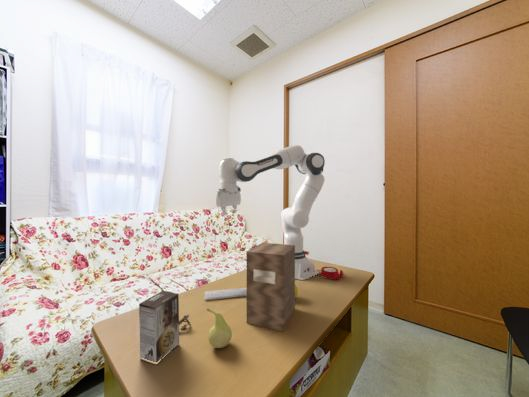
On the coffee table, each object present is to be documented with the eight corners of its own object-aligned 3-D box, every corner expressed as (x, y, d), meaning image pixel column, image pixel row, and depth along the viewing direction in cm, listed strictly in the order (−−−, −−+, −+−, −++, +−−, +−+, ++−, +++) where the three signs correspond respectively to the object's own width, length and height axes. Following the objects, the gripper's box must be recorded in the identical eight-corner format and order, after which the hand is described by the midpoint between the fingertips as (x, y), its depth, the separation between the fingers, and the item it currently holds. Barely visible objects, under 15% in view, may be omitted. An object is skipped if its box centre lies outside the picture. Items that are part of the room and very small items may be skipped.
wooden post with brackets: (194, 324, 77) (188, 314, 76) (172, 341, 73) (166, 331, 72) (192, 321, 79) (187, 312, 77) (170, 338, 74) (165, 328, 73)
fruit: (232, 352, 64) (232, 311, 64) (206, 356, 63) (205, 314, 63) (231, 337, 71) (230, 301, 71) (207, 341, 69) (207, 303, 69)
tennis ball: (300, 300, 96) (300, 284, 96) (286, 303, 93) (286, 287, 93) (292, 294, 103) (292, 279, 102) (279, 296, 100) (279, 281, 100)
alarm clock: (324, 265, 134) (347, 265, 124) (326, 275, 133) (349, 276, 123) (315, 269, 126) (339, 269, 116) (317, 280, 126) (341, 281, 115)
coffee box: (163, 340, 70) (163, 289, 70) (180, 344, 68) (179, 292, 68) (138, 360, 61) (138, 303, 61) (156, 366, 59) (156, 307, 59)
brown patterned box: (245, 323, 79) (245, 251, 78) (262, 302, 94) (262, 242, 94) (283, 332, 74) (283, 255, 73) (294, 308, 89) (294, 245, 89)
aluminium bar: (204, 301, 96) (204, 294, 96) (204, 298, 99) (204, 291, 99) (253, 295, 101) (253, 289, 101) (252, 293, 104) (252, 286, 104)
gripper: (223, 188, 107) (224, 216, 108) (242, 188, 126) (243, 212, 127) (212, 188, 110) (213, 216, 110) (232, 189, 129) (233, 212, 129)
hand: (229, 214), depth 119 cm, fingers open, 8 cm apart
